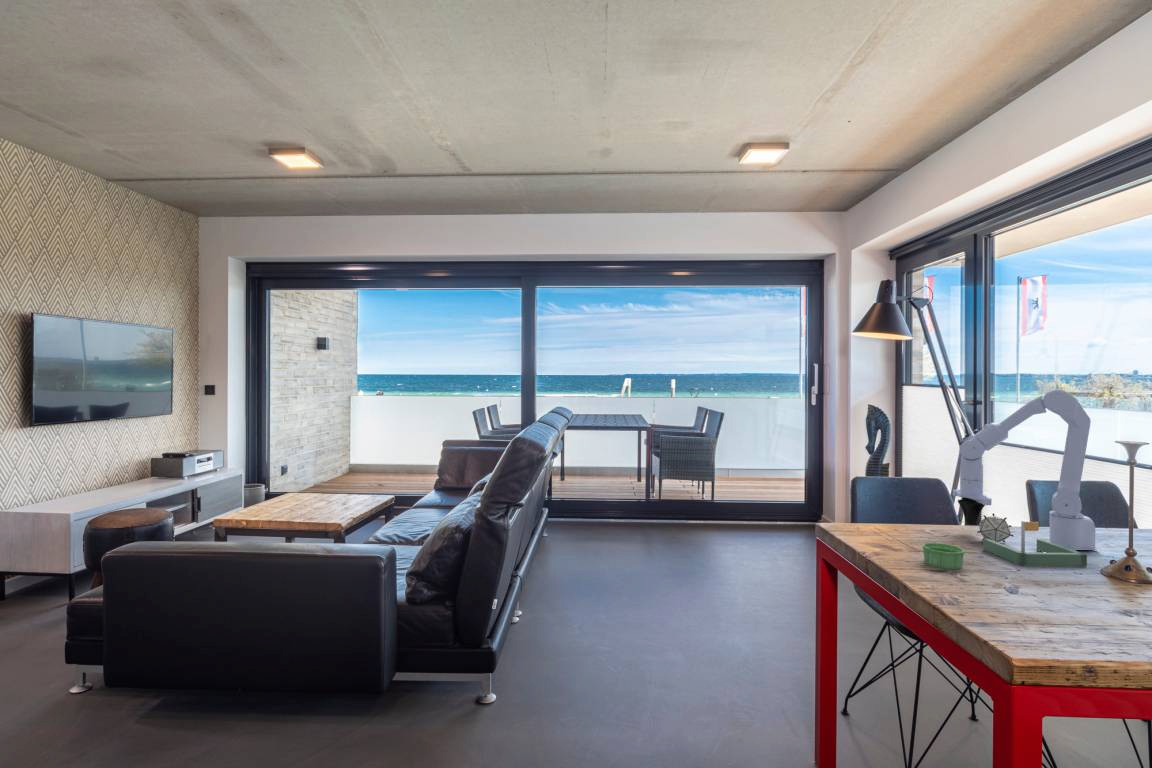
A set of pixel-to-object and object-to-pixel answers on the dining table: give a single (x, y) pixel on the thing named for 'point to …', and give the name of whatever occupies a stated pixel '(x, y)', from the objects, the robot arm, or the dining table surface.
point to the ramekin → (943, 555)
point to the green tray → (1052, 557)
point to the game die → (994, 528)
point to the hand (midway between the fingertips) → (971, 524)
